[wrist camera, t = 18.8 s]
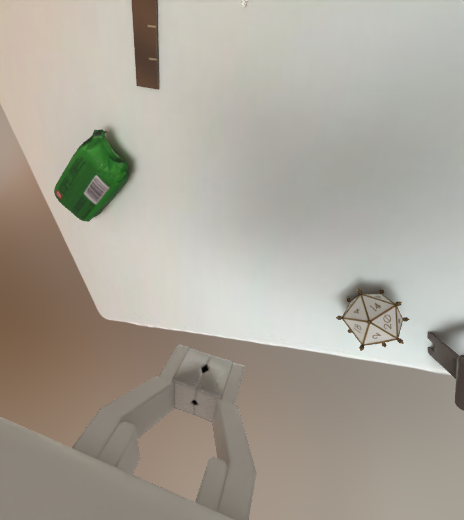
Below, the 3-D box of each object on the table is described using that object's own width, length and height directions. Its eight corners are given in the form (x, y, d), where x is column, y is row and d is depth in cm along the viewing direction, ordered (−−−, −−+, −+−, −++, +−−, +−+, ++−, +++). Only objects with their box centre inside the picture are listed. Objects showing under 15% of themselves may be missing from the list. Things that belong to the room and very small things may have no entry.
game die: (355, 280, 43) (344, 278, 35) (415, 297, 39) (420, 301, 30) (338, 330, 44) (324, 341, 36) (396, 353, 39) (395, 372, 31)
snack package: (146, 165, 39) (125, 172, 35) (98, 220, 47) (76, 232, 43) (111, 124, 37) (84, 127, 33) (67, 189, 46) (41, 197, 41)
